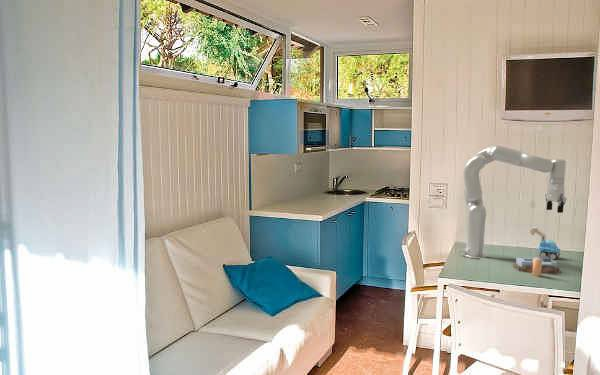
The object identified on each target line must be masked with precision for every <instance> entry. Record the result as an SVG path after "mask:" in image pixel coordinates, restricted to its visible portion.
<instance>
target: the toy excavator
mask: <svg viewBox="0 0 600 375" xmlns="http://www.w3.org/2000/svg"><path fill="white" fill-rule="evenodd" d="M529 233H530V235H531V236H534V235H535V234H537V235H539V236H540V243H539V246H538V251H540V252H539V257H540V256H547V257H549V258H551V259H552V260H553V261H555V260H556V259H557V258H559V257H560V254H561V248H559V247H558V246H557V243H556V242H555V241H554V240H552V239H546V234H545V232H544V231H541V230H539V228H538V227H537V226H535V227H534V226H533V227H532V228H531V229H530V232H529Z"/></svg>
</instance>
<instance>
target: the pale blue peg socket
mask: <svg viewBox="0 0 600 375" xmlns="http://www.w3.org/2000/svg"><path fill="white" fill-rule="evenodd" d="M534 258H539V259H542V266H552V267H556V270H557V267H558V262H556V261H555V260H552V259H551V258H549V257H547V256H540V255H539V257H538V256H532V257H531V258H530V257H516V260H515V261H516V262H515V263H516V264H517V265H518V266H520V267H521V271H523V268H524V266H533V259H534Z"/></svg>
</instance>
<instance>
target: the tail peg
mask: <svg viewBox="0 0 600 375" xmlns="http://www.w3.org/2000/svg"><path fill="white" fill-rule="evenodd" d="M541 267H542V259H539V258H534V259H533V272H532V273H531V275H532V276H533V277H537V278H539V277H541V276H542V273H541Z"/></svg>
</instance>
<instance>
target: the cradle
mask: <svg viewBox="0 0 600 375" xmlns="http://www.w3.org/2000/svg"><path fill="white" fill-rule="evenodd" d="M512 267H513V268H514V269H515V270H516V271H517V272H519V273H530V274H532V272H533V266H524V268H523V271H521V267H520V266H518V265H517V264H516V262H513V263H512ZM541 274H557V275H558V274H562V273H561V272H560V268H559V267H558V266H557V270H556V267H552V266H542V267H541Z"/></svg>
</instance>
